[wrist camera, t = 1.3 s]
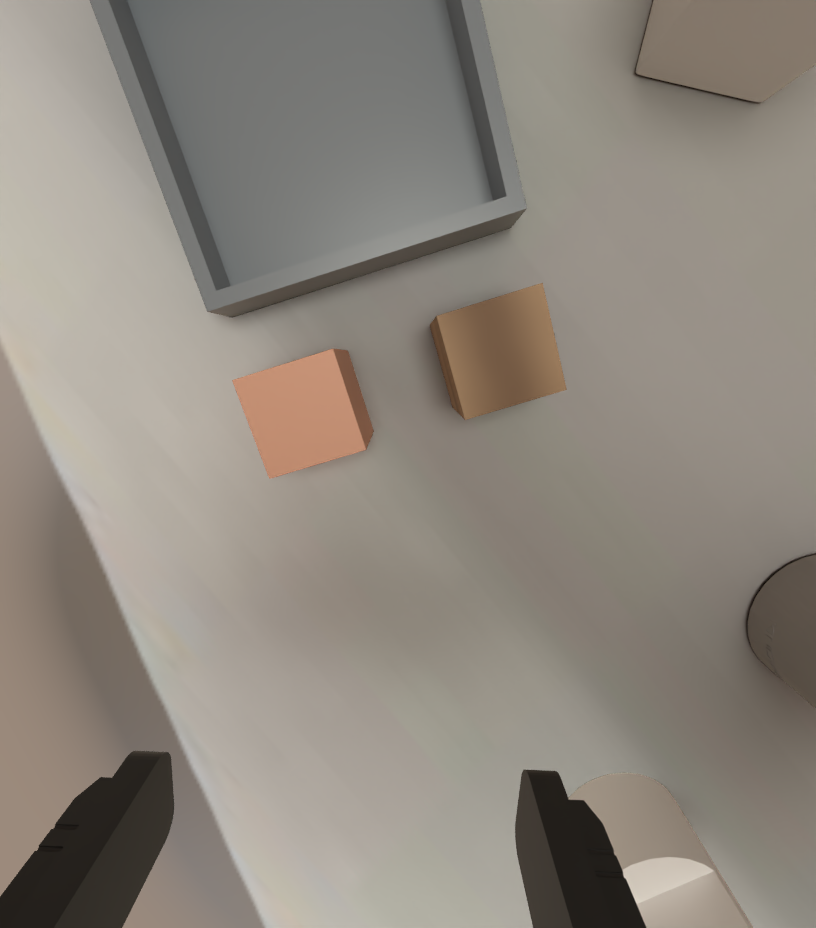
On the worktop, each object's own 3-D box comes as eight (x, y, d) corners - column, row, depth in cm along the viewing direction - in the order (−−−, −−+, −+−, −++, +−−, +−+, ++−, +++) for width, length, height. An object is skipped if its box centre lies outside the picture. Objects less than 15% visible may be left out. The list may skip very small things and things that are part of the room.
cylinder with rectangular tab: (649, 753, 34) (777, 958, 22) (696, 839, 36) (837, 1072, 24) (537, 804, 35) (604, 1028, 23) (588, 886, 37) (675, 1132, 25)
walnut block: (512, 299, 27) (542, 283, 21) (532, 383, 28) (566, 389, 23) (429, 325, 28) (436, 316, 22) (452, 407, 29) (465, 419, 23)
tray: (427, -130, 23) (431, -215, 19) (510, 227, 26) (526, 208, 23) (110, -13, 24) (61, -75, 20) (231, 317, 27) (207, 311, 24)
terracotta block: (347, 350, 28) (332, 348, 22) (373, 431, 29) (366, 449, 23) (268, 375, 28) (232, 380, 22) (296, 454, 29) (269, 478, 23)
